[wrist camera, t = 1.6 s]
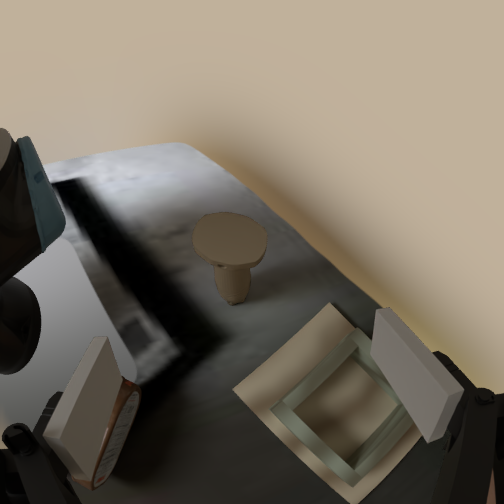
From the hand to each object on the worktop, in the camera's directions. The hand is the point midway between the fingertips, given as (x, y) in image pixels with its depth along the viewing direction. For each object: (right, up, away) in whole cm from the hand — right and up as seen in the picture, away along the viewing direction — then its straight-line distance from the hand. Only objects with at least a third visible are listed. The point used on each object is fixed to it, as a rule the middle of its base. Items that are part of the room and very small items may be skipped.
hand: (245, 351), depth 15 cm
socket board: (+11, -14, +20) cm, 27 cm away
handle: (-2, -1, +26) cm, 26 cm away
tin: (-16, -18, +18) cm, 30 cm away
